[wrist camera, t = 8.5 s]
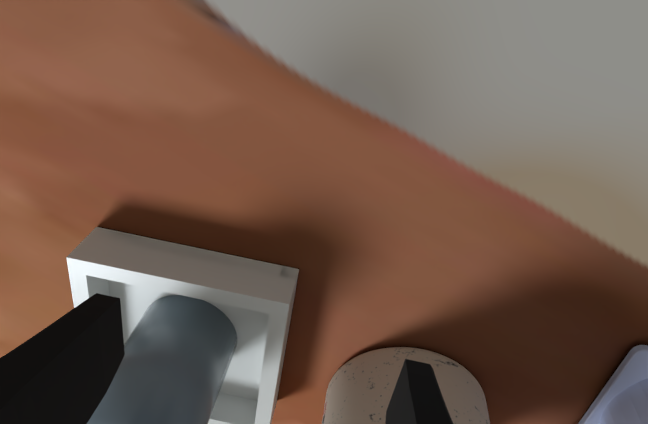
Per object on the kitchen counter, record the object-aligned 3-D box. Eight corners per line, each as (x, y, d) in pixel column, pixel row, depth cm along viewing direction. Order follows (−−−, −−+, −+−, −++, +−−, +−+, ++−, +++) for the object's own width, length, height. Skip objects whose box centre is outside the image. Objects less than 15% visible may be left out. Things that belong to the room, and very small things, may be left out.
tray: (299, 269, 23) (289, 304, 21) (276, 401, 29) (267, 440, 26) (96, 226, 24) (66, 257, 21) (111, 365, 29) (88, 401, 27)
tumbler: (240, 306, 24) (188, 436, 18) (234, 374, 27) (187, 506, 21) (141, 285, 24) (56, 407, 18) (145, 355, 27) (72, 481, 21)
